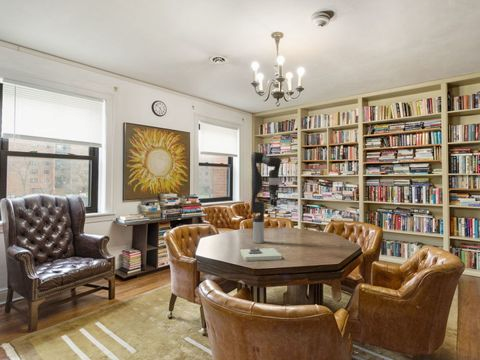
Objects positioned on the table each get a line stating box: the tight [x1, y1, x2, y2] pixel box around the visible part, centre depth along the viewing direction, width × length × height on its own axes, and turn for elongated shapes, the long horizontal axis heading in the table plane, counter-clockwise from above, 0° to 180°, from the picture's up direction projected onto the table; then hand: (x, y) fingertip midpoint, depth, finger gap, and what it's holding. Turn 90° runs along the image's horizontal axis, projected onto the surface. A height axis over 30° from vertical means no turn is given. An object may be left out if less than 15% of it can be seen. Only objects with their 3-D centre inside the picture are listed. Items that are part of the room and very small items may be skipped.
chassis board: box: [240, 247, 283, 262], centre depth 189 cm, size 20×24×3 cm
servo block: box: [248, 247, 262, 254], centre depth 189 cm, size 4×9×6 cm, turn 98°
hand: (273, 205), depth 208 cm, fingers open, 8 cm apart
